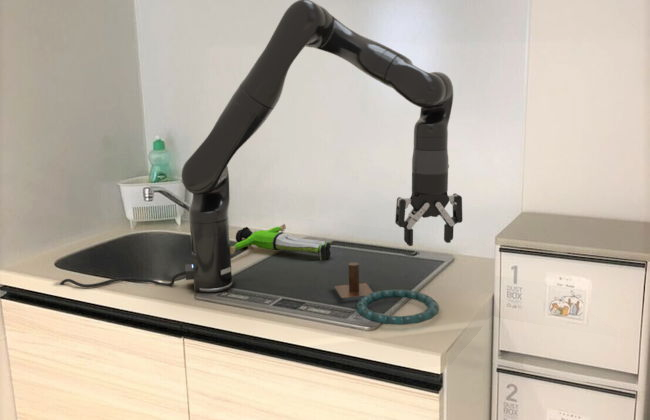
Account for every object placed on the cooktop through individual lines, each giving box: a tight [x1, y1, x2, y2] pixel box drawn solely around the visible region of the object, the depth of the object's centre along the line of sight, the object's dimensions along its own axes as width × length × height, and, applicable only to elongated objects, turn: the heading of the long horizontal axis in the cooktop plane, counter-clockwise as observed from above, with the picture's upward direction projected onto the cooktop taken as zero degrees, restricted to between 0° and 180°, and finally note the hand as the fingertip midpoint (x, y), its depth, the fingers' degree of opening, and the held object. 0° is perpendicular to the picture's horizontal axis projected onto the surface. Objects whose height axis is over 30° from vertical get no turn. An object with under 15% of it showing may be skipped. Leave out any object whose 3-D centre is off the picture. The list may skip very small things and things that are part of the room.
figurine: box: [230, 223, 332, 262], centre depth 193 cm, size 28×6×30 cm
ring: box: [355, 289, 440, 326], centre depth 150 cm, size 18×18×2 cm
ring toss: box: [333, 261, 375, 299], centre depth 160 cm, size 8×8×8 cm
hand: (428, 243), depth 148 cm, fingers open, 8 cm apart
